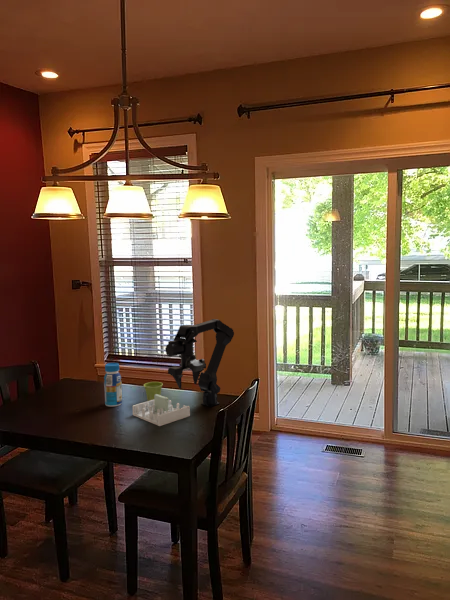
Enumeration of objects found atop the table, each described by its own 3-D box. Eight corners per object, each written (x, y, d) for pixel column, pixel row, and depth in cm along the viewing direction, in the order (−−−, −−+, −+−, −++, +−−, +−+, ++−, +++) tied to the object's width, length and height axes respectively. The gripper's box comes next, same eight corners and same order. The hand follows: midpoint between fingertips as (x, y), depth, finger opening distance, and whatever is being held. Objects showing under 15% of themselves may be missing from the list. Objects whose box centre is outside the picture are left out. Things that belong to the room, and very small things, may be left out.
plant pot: (150, 405, 230) (149, 388, 229) (140, 401, 237) (140, 384, 236) (167, 401, 236) (166, 384, 235) (156, 397, 243) (156, 380, 242)
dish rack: (162, 406, 229) (162, 397, 229) (189, 415, 215) (189, 406, 215) (132, 415, 217) (132, 405, 217) (159, 426, 203) (159, 415, 203)
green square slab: (157, 411, 219) (157, 394, 218) (168, 415, 214) (167, 397, 213) (154, 411, 218) (154, 394, 217) (165, 416, 212) (165, 398, 212)
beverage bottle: (102, 403, 234) (100, 364, 232) (118, 400, 239) (116, 361, 237) (109, 408, 227) (107, 367, 225) (125, 404, 232) (123, 364, 230)
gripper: (182, 359, 206) (183, 394, 207) (213, 352, 219) (214, 385, 221) (166, 355, 214) (167, 389, 215) (197, 348, 227) (198, 380, 228)
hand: (187, 386), depth 220 cm, fingers open, 9 cm apart
